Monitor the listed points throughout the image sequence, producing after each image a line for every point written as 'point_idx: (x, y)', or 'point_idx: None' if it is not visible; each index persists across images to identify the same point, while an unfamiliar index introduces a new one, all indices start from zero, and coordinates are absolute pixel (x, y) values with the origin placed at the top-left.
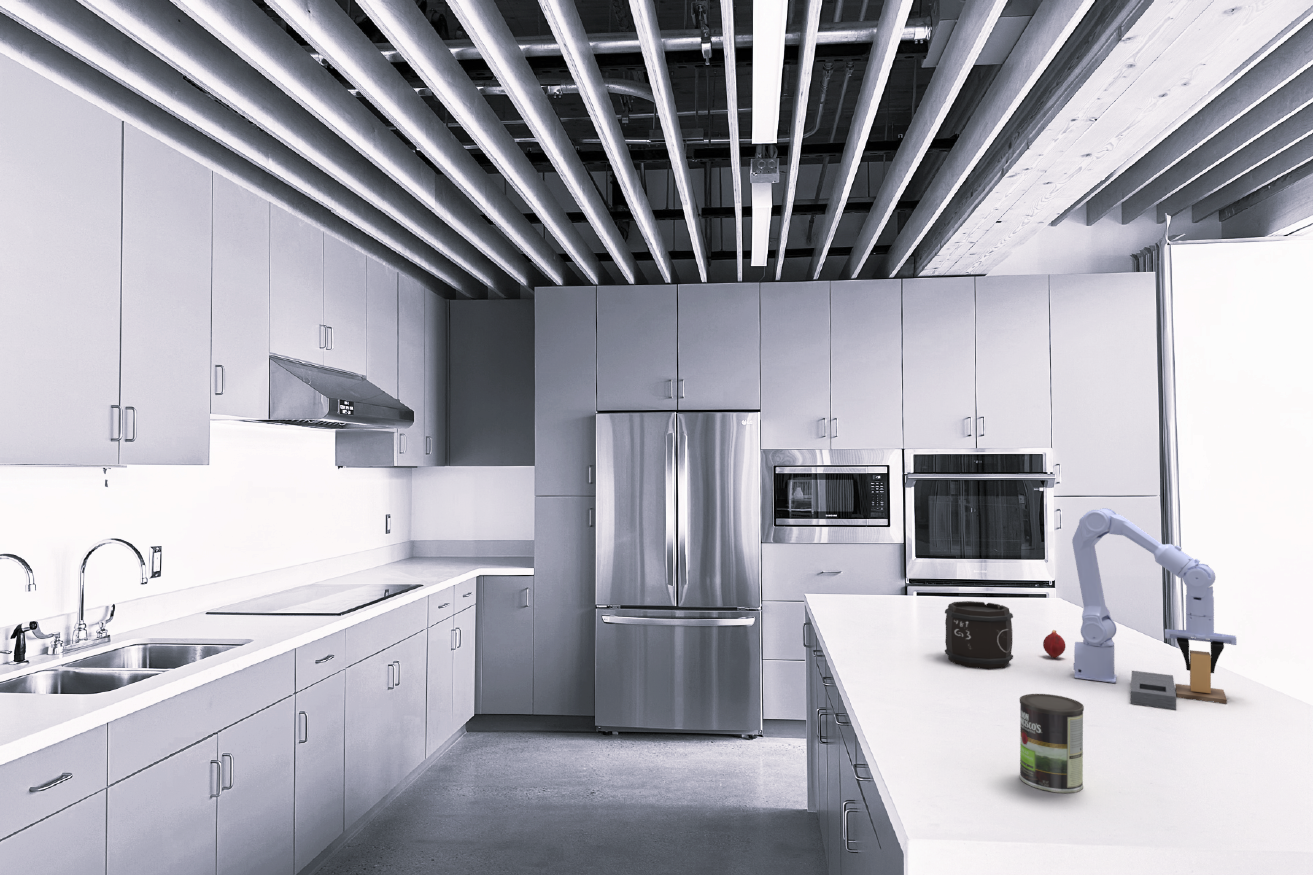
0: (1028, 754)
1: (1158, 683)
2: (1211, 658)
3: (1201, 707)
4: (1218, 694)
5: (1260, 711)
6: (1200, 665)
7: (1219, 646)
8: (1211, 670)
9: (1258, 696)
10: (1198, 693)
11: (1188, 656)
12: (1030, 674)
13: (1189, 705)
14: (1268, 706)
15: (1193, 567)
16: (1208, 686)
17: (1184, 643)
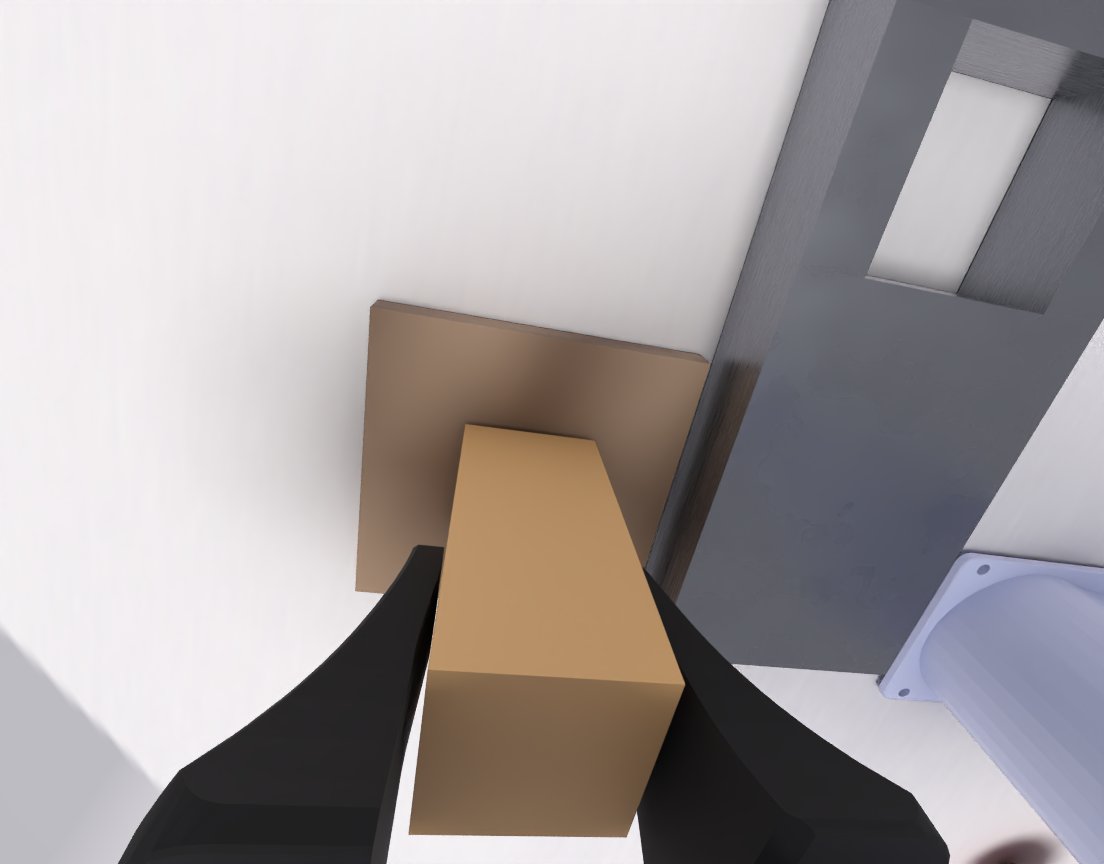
0: None
1: (873, 377)
2: (412, 683)
3: (605, 84)
4: (408, 448)
5: (134, 138)
6: (550, 564)
7: (215, 824)
8: (435, 558)
9: (152, 589)
10: (548, 421)
11: (686, 663)
12: None
13: (685, 121)
14: (79, 346)
15: None
16: (478, 449)
17: (869, 823)
